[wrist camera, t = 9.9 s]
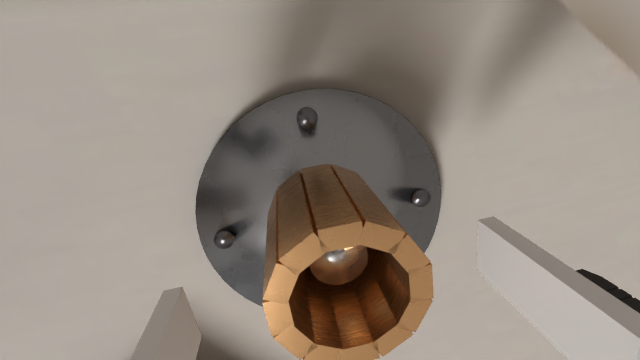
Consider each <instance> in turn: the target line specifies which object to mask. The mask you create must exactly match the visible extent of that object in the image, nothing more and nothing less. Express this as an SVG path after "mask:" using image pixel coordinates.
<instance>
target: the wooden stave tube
mask: <svg viewBox="0 0 640 360" xmlns="http://www.w3.org/2000/svg"><path fill="white" fill-rule="evenodd" d="M301 171H302V173H301V172H300V171H299V170H298V171H297V172H295V173H294V174H293V175H292V176H291V177H289V178H288V179H287V180H286V181H285V182H283V183H282V184H281V185H280V186H279V187H278V190H276V191H275V194H274V197H273V200H272V203H271V205H270V208H269V211H268V216H267V233H266V250H265V267H264V284H263V301H262V304H263V307H264V311H265V314H266V318H267V321H268V325H269V328H270V332H271V336H273V335H274V337H273V339H275V340H276V341H277V342H278V343H280V344H281V345H282V346H283V347H285V348H286V349H287V350H288V351H290V352H291V353H292V354H293V355H295V356H296V357H297V358H299V359H300V360H301V359H302V358H303V360H374V359H378V358H380V357H379V353H380V354H381V355H382V356H384V355H386V354H387V353H389V352H390V351H391V350H393V349H394V348H395V347H397V346H398V345H400V344H401V343H402V342H404V341H405V340H406V339H408V338H409V337H411V336H412V335H413V333H412V331H414V332H416V330H417V328H418V327H419V325H420V323H421V321H422V319H423V318H424V316H425V314H426V312H427V310H428V309H429V307H430V305H431V303H432V300H431V298H433V278H432V264H431V263H430V262H431V261H430V260H429V259H428V258H427V257H426V255H425V254H424V253H423V252H422V251H421V249H420V248H419V247H418V246H417V244H416V243H415V242H414V241H413V240H412V238H411V237H410V236H409V235H408V234H407V232H406V231H405V230H404V229H403V228H402V226H401V225H400V224H399V223H398V221H397V220H396V219H395V218H394V217H393V215H392V214H391V213H390V212H389V211H388V209H387V208H386V207H385V206H384V204H383V203H382V202H381V201H380V200H379V198H378V197H377V196H376V195H375V194H374V192H373V191H372V190H371V189H370V188H369V186H368V185H367V184H366V183H365V181H364V180H363V179H362V178H361V177H360V175H359V174H358V173H356V172H355V171H352V170H349V169H346V168H343V167H340V166H337V165H334V164H330V166H329V164H328V163H327V164H322V165H317V166H312V167H307V168H302V169H301ZM357 245H363V246H366V248H367V252H368V260H367V264H366V267H365V268H364V270H363V271H362V273H361V274H360V275H359V276H358V277H357V278H355V279H354V280H352V281H350V282H347V283H344V284H339V285H332V284H327V283H324V282H322V281H320V280H318V279H317V278H316V277H315V276H314V275H313V273H312V272H311V269H310V266H309V265H311V264H312V263H313V262H315V261H316V260H317V259H318V258H320V257H321V256H322V255H323V254H325V253H326V252H330V251H334V250H339V249H344V248H348V247H353V246H357Z"/></svg>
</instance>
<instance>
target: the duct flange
mask: <svg viewBox="0 0 640 360" xmlns="http://www.w3.org/2000/svg"><path fill="white" fill-rule="evenodd" d="M327 163H328V164H329V166H330V164H334V165H337V166H340V167H343V168H346V169H349V170H352V171H355V172H356V173H358V174H359V175H360V177H361V178H362V179H363V180H364V181H365V183H366V184H367V185H368V186H369V188H370V189H371V190H372V191H373V192H374V194H375V195H376V196H377V197H378V198H379V200H380V201H381V202H382V203H383V204H384V206H385V207H386V208H387V209H388V211H389V212H390V213H391V214H392V215H393V217H394V218H395V219H396V220H397V221H398V223H399V224H400V225H401V226H402V228H403V229H404V230H405V231H406V232H407V234H408V235H409V236H410V237H411V238H412V240H413V241H414V242H415V243H416V244H417V246H418V247H419V248H420V249H421V251H422V252H423V253H425V251H426V249H427V248H428V246H429V244H430V241H431V239H432V237H433V235H434V232H435V228H436V225H437V222H438V217H439V211H440V201H441V189H440V179H439V174H438V170H437V166H436V163H435V160H434V158H433V156H432V153H431V151H430V149H429V147H428V145H427V144H426V142H425V140H424V139H423V137H422V136H421V134H420V133H419V132H418V131H417V130H416V128H415V127H414V126H413V125H412V124H411V123H410V122H409V121H408V120H407V119H406V118H405V117H404V116H402V115H401V114H400V113H399V112H397V111H396V110H394V109H393V108H391V107H390V106H388V105H386V104H384V103H382V102H380V101H378V100H376V99H374V98H372V97H369V96H365V95H362V94H359V93H356V92H351V91H345V90H339V89H310V90H301V91H297V92H293V93H289V94H285V95H282V96H280V97H277V98H275V99H272V100H270V101H267V102H265V103H264V104H262V105H260V106H258V107H257V108H255V109H253V110H251V111H250V112H249V113H248V114H246V115H245V116H244V117H242V118H241V119H240V120H238V121H237V122H236V123H235V124H234V125H233V126H232V127H231V128H230V129H229V130H228V131H227V132H226V133H225V135H224V136H223V137H222V139H221V140H220V141H219V143H218V144H217V145H216V147H215V148H214V149H213V151H212V153H211V155H210V157H209V159H208V160H207V162H206V164H205V167H204V169H203V172H202V175H201V178H200V181H199V186H198V191H197V196H196V222H197V229H198V233H199V237H200V241H201V244H202V246H203V249H204V251H205V253H206V256H207V257H208V259H209V261H210V262H211V264H212V266H213V267H214V269H215V270H216V271H217V273H218V274H219V275H220V276H221V278H222V279H223V280H224V281H225V282H226V283H227V284H228V285H229V286H230V287H232V288H233V289H234V290H235V291H236V292H238V293H239V294H241V295H242V296H243V297H245V298H246V299H248V300H250V301H252V302H254V303H256V304H258V305H260V306H262V307H263V304H262V301H263V284H264V267H265V250H266V233H267V216H268V211H269V208H270V205H271V203H272V200H273V197H274V194H275V191H276V190H278V187H279V186H280V185H281V184H282V183H283V182H285V181H286V180H287V179H288V178H289V177H291V176H292V175H293V174H294V173H295V172H297V171H298V170H299V171H300V172H301V173H302V171H301V169H302V168H307V167H312V166H317V165H322V164H327ZM367 260H368V252H367V248H366V246H363V245H357V246H353V247H348V248H344V249H339V250H334V251H330V252H326V253H325V254H323V255H322V256H321V257H320V258H318V259H317V260H316V261H315V262H313V263H312V264H311V265H309V266H310V269H311V272H312V273H313V275H314V276H315V277H316V278H317V279H318V280H320V281H322V282H324V283H327V284H332V285H339V284H344V283H347V282H350V281H352V280H354V279H355V278H357V277H358V276H359V275H360V274H361V273H362V271H363V270H364V268H365V267H366V264H367Z"/></svg>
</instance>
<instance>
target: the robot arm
mask: <svg viewBox="0 0 640 360" xmlns="http://www.w3.org/2000/svg"><path fill="white" fill-rule="evenodd" d="M477 271H478V272H479V273H480V274H481V275H482V276H483V277H484V278H485V279H486V280H487V281H488V282H489V283H490V284H491V285H492V286H493V287H494V288H495V289H496V290H497V291H498V292H499V293H500V294H501V295H502V296H503V297H504V298H505V299H506V300H507V301H508V302H510V303H511V304H512V305H513V306H514V307H515V308H516V309H517V310H518V311H519V312H520V313H521V314H522V315H523V316H524V317H525V318H526V319H527V320H528V321H529V322H530V323H531V324H532V325H533V326H534V327H535V328H536V329H537V330H538V331H539V332H540V333H541V334H542V335H543V336H544V337H545V338H546V339H547V340H548V341H549V342H550V343H551V344H552V345H553V346H554V347H555V348H556V349H557V350H558V351H559V352H561V353H562V354H563V355H564V356H565V357H566V358H567V359H568V360H640V301H639V300H638V299H636V298H632V296H631V295H630V294H628V293H627V292H625V291H623V290H622V289H618V287H617V286H616V285H614V284H612V283H611V282H609V281H608V280H606V279H604V278H603V277H601V276H599V275H596V274H593V273H591V272H588V271H586V270H583V269H581V270H577V271H575V270H573V269H572V268H570V267H569V266H567V265H566V264H564V263H563V262H561V261H560V260H558V259H557V258H555V257H554V256H552V255H551V254H549V253H548V252H546V251H545V250H543V249H542V248H540V247H539V246H537V245H536V244H534V243H533V242H531V241H530V240H528V239H527V238H525V237H524V236H522V235H521V234H519V233H518V232H516V231H515V230H513V229H512V228H510V227H509V226H507V225H506V224H504V223H503V222H501V221H500V220H498V219H497V218H495V217H489V218H485V219H480V220H478V232H477ZM201 337H202V335H201V333H200V330H199V328H198V325H197V322H196V320H195V317H194V315H193V312H192V310H191V307H190V305H189V302H188V300H187V297H186V295H185V292H184V290H183V287H179V288H174V289H170V290H166V291H163V293H162V295H161V297H160V299H159V301H158V304H157V306H156V308H155V310H154V312H153V314H152V316H151V318H150V320H149V322H148V324H147V326H146V328H145V331H144V333H143V335H142V337H141V339H140V341H139V343H138V345H137V347H136V349H135V351H134V353H133V355H132V357H131V360H196V357H197V353H198V349H199V345H200V341H201Z"/></svg>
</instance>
